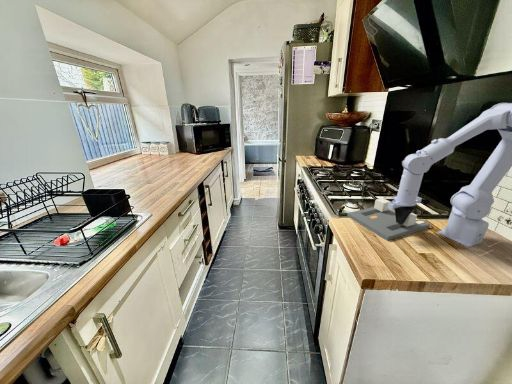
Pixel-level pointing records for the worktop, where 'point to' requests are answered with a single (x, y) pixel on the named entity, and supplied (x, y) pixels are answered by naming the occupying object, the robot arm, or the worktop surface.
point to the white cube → (410, 220)
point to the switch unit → (385, 223)
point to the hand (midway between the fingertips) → (399, 222)
